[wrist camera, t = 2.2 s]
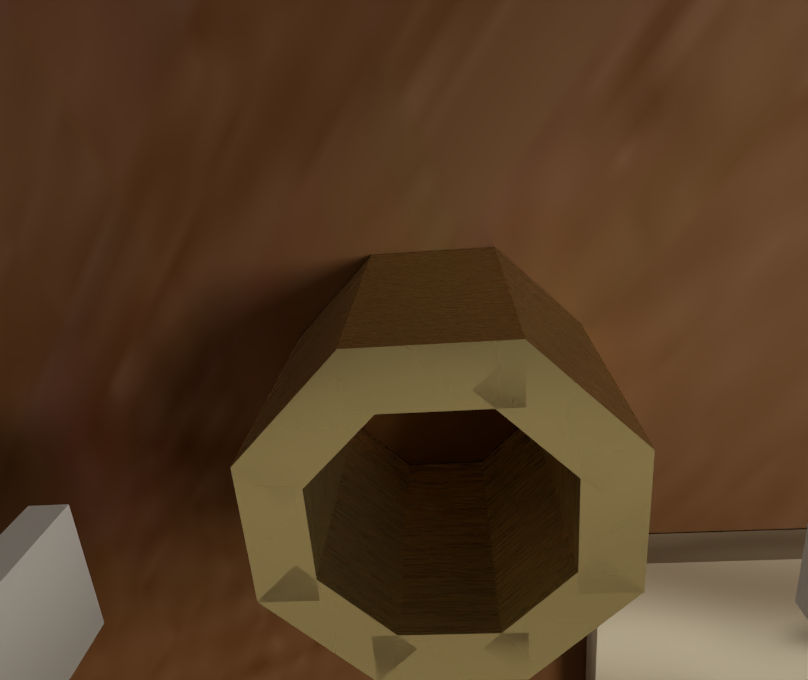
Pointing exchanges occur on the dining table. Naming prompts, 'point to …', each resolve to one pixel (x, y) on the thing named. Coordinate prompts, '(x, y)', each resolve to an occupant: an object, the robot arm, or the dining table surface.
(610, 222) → the dining table surface
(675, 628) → the post board
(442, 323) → the sleeve
